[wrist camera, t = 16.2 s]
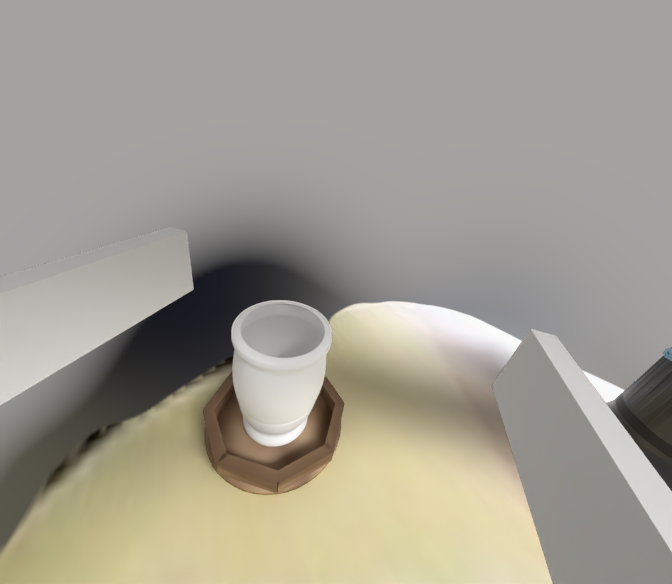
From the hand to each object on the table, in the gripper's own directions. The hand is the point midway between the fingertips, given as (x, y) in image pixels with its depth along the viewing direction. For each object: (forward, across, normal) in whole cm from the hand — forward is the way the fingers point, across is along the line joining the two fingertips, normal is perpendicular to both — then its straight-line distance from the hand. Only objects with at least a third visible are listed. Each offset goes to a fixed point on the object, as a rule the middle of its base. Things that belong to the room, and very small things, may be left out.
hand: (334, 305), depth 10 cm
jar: (+12, -7, -27) cm, 31 cm away
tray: (+12, -7, -28) cm, 31 cm away
